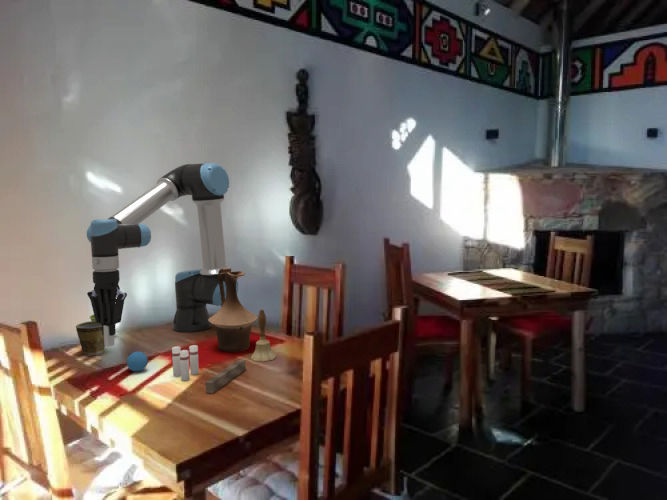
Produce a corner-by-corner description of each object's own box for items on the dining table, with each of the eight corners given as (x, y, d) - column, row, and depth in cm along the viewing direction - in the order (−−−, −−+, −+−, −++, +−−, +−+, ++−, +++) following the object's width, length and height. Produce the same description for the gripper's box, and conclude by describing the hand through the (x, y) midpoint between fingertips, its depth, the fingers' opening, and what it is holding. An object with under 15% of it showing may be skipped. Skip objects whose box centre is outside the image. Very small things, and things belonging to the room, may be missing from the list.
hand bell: (245, 359, 173) (244, 311, 171) (260, 352, 180) (259, 306, 179) (266, 363, 169) (265, 314, 167) (281, 355, 177) (279, 308, 175)
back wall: (239, 368, 164) (239, 359, 164) (245, 369, 164) (245, 359, 163) (205, 392, 145) (205, 382, 145) (212, 393, 145) (212, 382, 144)
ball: (135, 366, 167) (134, 348, 166) (152, 368, 165) (151, 349, 165) (123, 373, 161) (121, 354, 161) (139, 375, 160) (138, 355, 159)
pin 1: (184, 377, 157) (182, 349, 156) (191, 378, 156) (190, 350, 155) (179, 380, 155) (177, 352, 154) (186, 381, 154) (185, 352, 153)
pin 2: (193, 371, 162) (192, 344, 161) (200, 372, 161) (199, 345, 160) (188, 374, 160) (187, 347, 159) (196, 375, 159) (194, 347, 158)
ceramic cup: (116, 351, 184) (114, 322, 183) (90, 359, 175) (88, 329, 174) (92, 345, 191) (90, 318, 189) (66, 353, 182) (64, 324, 181)
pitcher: (199, 347, 187) (195, 268, 184) (239, 337, 199) (237, 263, 196) (227, 358, 175) (224, 274, 171) (268, 347, 186) (266, 268, 183)
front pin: (176, 373, 161) (174, 346, 160) (183, 374, 160) (182, 346, 159) (171, 376, 158) (170, 348, 157) (178, 377, 158) (177, 349, 157)
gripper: (79, 270, 161) (83, 347, 163) (115, 272, 157) (118, 350, 159) (97, 267, 168) (100, 340, 170) (131, 269, 164) (135, 343, 167)
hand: (109, 345), depth 165 cm, fingers closed
